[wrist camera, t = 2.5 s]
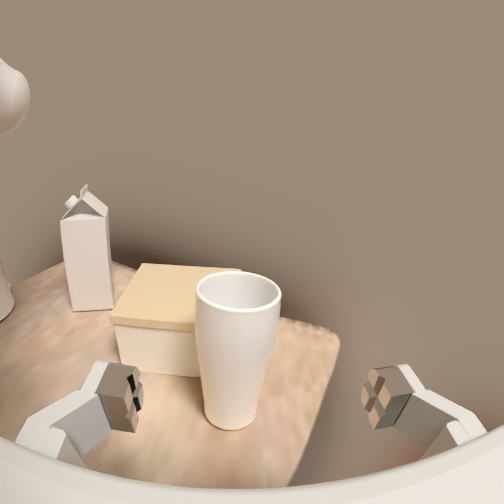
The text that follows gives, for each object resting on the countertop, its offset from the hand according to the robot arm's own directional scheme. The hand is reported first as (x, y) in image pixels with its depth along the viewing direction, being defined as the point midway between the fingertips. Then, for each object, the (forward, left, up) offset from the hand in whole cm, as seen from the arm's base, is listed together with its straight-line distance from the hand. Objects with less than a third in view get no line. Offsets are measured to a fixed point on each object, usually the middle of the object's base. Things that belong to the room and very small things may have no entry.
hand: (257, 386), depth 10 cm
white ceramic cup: (0, +14, -18) cm, 23 cm away
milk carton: (-23, +35, -18) cm, 45 cm away
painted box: (-6, +26, -18) cm, 32 cm away
